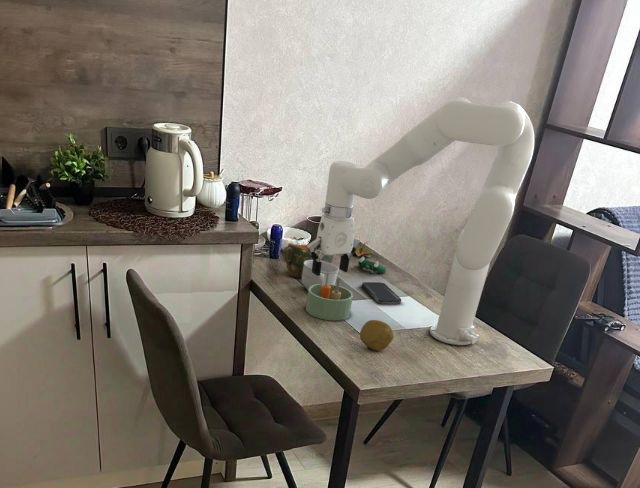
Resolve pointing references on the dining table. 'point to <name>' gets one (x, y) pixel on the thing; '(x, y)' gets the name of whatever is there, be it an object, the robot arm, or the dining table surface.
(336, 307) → the crock
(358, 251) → the lily flower
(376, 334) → the potato
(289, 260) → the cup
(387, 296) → the phone
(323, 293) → the screwdriver
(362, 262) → the green toy figure
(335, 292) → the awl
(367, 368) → the dining table surface
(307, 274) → the teacup
